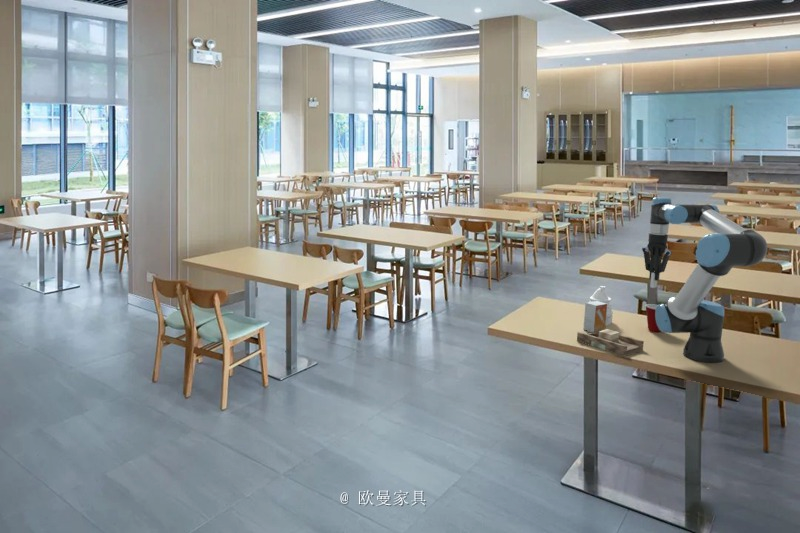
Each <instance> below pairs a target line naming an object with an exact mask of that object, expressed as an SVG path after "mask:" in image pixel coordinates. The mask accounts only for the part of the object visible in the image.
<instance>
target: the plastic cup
mask: <svg viewBox="0 0 800 533" xmlns="http://www.w3.org/2000/svg"><path fill="white" fill-rule="evenodd" d="M658 305H659V304H653V303H646V304H645V305H644V306H645V311H646V322H647V330H648V332H651V333H654V334H656V333H660V334H661V333H662V331H660V330H659V328H658V326H657V323H656V319H655V311H656V307H657V306H658Z"/></svg>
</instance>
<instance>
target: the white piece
mask: <svg viewBox="0 0 800 533" xmlns="http://www.w3.org/2000/svg"><path fill="white" fill-rule="evenodd" d="M594 301H599V302H603V303H606V304H607V312H606V324H605V326H609V325H612V324H613V314H614V313H613V310H612V305H611V301H612V298H611V297H609V296H608V294H607V291H606V285H604V286H603V285H600V286H599V288H598V289H596V290H595V291H594V293H593V294H592V295H591V296H590V297H589V301H588V302H594Z"/></svg>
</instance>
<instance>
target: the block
mask: <svg viewBox="0 0 800 533" xmlns="http://www.w3.org/2000/svg"><path fill="white" fill-rule="evenodd" d="M619 334H620V332H619V331H616V330H612V329H610V328H605V330H602V331H599V338H602V339H605V340H608V341H612V342H618V341H619Z"/></svg>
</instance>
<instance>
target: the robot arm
mask: <svg viewBox="0 0 800 533" xmlns="http://www.w3.org/2000/svg"><path fill="white" fill-rule="evenodd" d="M651 202H652V203H651V208H650V209H651V210H650V221H649V231H648V232H649V233H648V241H647V242H648V243H647V246H645V247H642V249H641V251H642V253H643V258H644V268H645V270H646V271H648V273H649V275H648V278H649V280H650V283H649V284H650V285H649V287H650V288H652V289H655V288H657V286H658V281H659V280H660V274H661V273H664V272H665V271H666V268H667V264H668V262H669V260H670V257H671V255H672V254H673V251H671V250H669V249H668V246H667V244H668V237H669V236H668V233H669V228H670V226H669V225H670V224H672V225H680V224H699V225H701V226H703V227H704V228H705V229H707V230H709V232H711V233H709V234H706V235H704V236H702V237H701V238H700V240H699V241H698V242H697V245H696V249H695V258H696V260H697V262H696V263H697V265H696V266H695V268H694V270H693V271H692V272H691V274H690V275H689V277H688V279H687V280H686V282H685V283H684V285H682V287H681V289H680V290H679V292H678V293H677V295H674V296H671V297H670V298H669V299H668V300H667V302H666V303H661V304H657V305H658V306H657V307H656V311H655V319H656V323H657V326H658V328H659V330H660V331H661V333H668V334H681V333H682V334H685V333H686V334H689V337H688V339H687V341H686V343H685V346H684V347H683V353H682V354H683V356H684V357H687V358H689V359H691V360H694V361H696V362H697V361H698V362H704V363H720V362H723V361H724V359H725V352H724V347H723V343H722V336H723V328H724V327H723V326H724V319H725V307H724V306H723V305H722V304H720V303H718V302H714V301H710V300H706V299H705V298H706V296H707V295H708V294H709V293H710V291H711V290H712V288H713V287H714V285H715V284H716V282H717V281H718V280H719V278H720V277H725V276H726V275H728V274H729V273H730V272H731V270H732V269H733V268H734V267H751V266H752V267H753V266H755V265H757V264H759V263H761V262H762V261H763V260H764V259H765V257H766V256H767V253H768V243H767V241H766V238H765V237H763V236H762V235H761V234H760V233H758V232H757V231H755V230H753V229H746V228H744V227H743V226H742V225H739V224H738V223H736V222H734V221H733V220H732V219H729V218H728V217H726V216H724V215H723V214H721V213H720V209H719V208H718V206H717V205H713V204H708V203H706V204H674V203H672V199H671V198H670V197H666V196H657V197H653V198H652V200H651Z"/></svg>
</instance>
